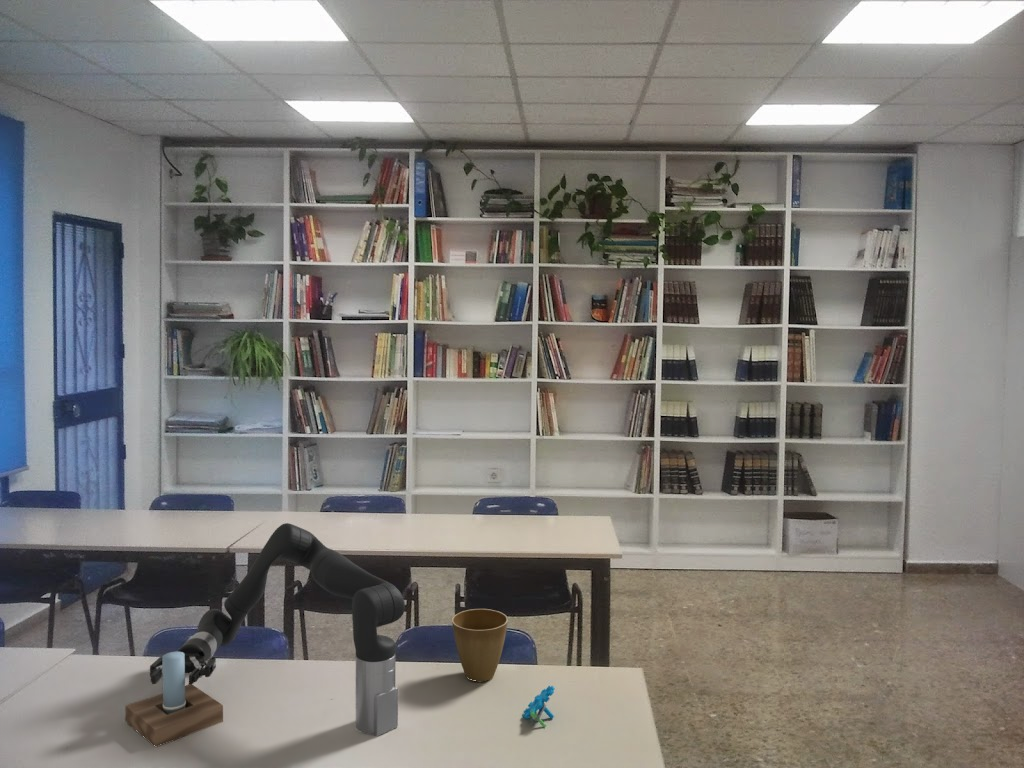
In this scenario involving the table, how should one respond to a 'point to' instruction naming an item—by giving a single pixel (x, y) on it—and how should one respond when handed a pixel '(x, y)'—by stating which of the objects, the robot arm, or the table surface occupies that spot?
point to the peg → (173, 682)
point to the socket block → (173, 716)
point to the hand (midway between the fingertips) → (171, 680)
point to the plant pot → (479, 641)
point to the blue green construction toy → (539, 706)
